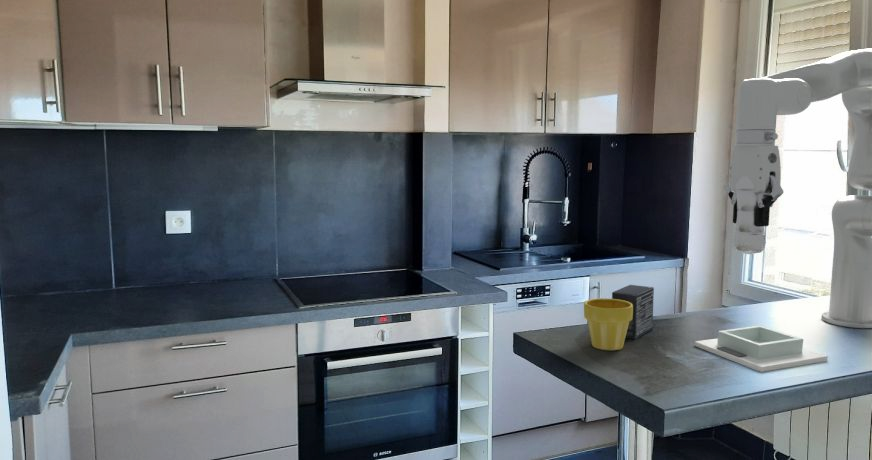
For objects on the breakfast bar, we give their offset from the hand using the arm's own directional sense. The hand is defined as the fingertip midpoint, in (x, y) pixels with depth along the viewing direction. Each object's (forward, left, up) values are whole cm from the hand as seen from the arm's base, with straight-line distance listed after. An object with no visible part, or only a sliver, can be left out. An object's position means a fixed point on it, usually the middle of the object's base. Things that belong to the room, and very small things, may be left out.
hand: (750, 223), depth 141 cm
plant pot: (+27, -12, -28) cm, 40 cm away
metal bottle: (0, 0, -7) cm, 7 cm away
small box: (+15, -19, -28) cm, 37 cm away
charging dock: (0, +4, -27) cm, 28 cm away
